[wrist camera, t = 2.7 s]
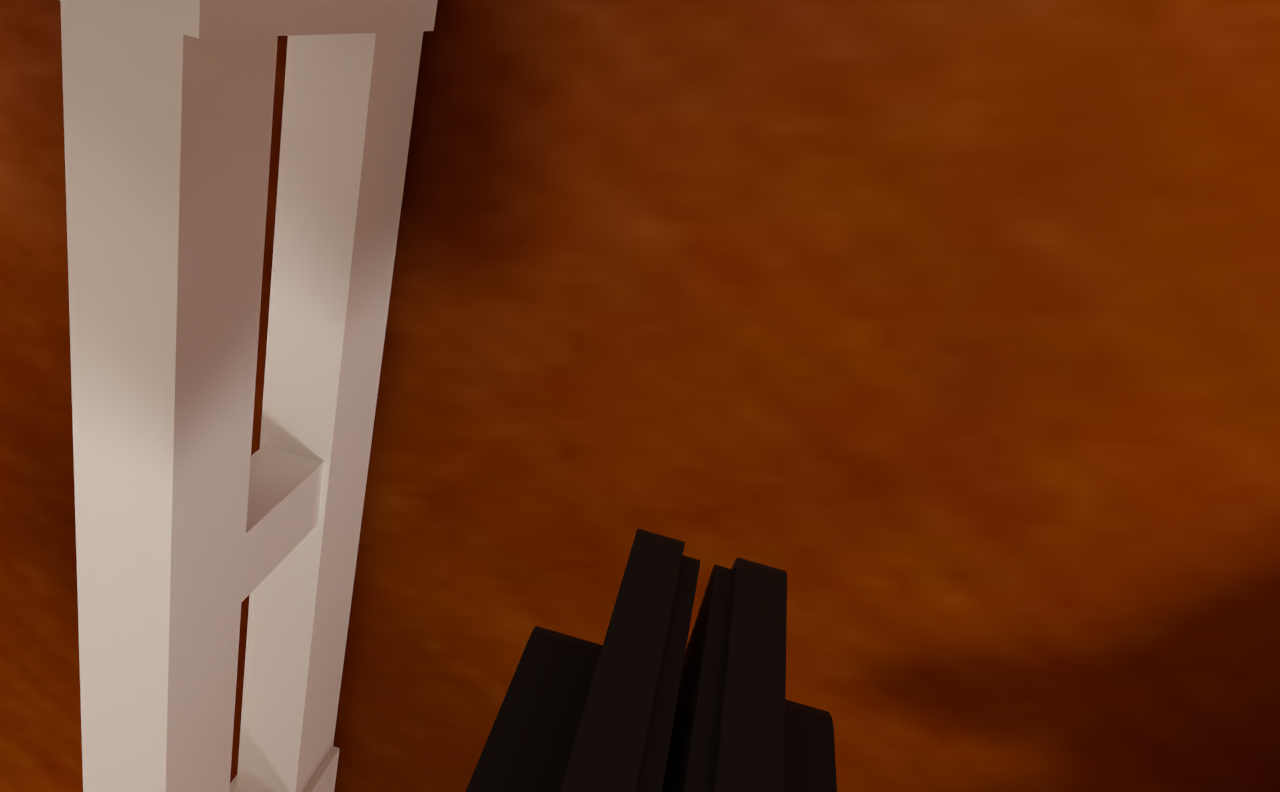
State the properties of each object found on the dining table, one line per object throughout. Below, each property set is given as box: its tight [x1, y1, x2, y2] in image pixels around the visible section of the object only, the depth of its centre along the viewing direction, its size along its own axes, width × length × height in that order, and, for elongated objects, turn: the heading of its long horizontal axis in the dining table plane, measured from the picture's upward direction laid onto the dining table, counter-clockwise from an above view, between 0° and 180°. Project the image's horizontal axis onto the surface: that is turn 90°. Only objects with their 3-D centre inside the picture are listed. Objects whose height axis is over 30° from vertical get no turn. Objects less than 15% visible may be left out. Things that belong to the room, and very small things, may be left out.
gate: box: [60, 0, 438, 792], centre depth 14 cm, size 18×2×6 cm, turn 166°
